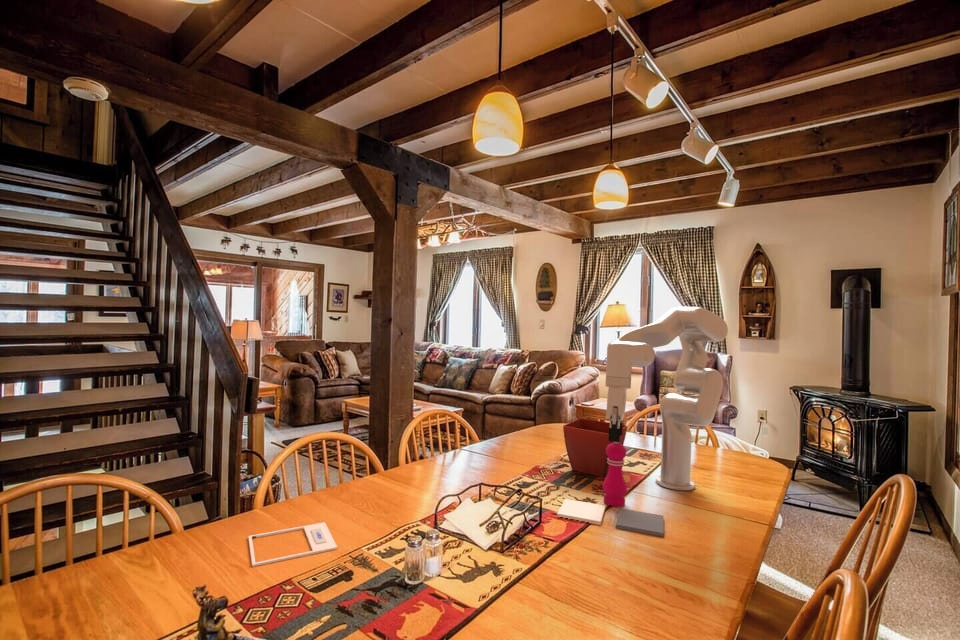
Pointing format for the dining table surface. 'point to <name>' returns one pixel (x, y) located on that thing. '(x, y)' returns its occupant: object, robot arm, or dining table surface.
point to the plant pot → (589, 445)
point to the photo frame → (315, 534)
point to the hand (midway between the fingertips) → (615, 438)
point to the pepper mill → (615, 476)
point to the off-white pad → (582, 511)
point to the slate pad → (640, 522)
